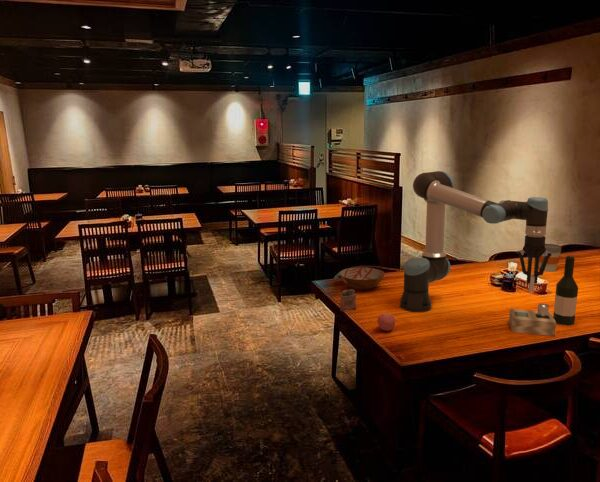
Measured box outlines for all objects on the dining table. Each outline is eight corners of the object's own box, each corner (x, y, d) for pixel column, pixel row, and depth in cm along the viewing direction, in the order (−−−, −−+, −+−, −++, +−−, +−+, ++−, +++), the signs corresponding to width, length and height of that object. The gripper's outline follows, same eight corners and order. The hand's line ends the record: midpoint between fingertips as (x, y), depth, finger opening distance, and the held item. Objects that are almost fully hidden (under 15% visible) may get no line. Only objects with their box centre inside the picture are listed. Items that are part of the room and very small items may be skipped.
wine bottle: (555, 317, 210) (561, 252, 204) (576, 321, 205) (583, 255, 199) (550, 322, 204) (557, 256, 198) (572, 327, 199) (579, 259, 193)
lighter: (341, 311, 223) (341, 291, 220) (339, 309, 226) (338, 289, 224) (357, 309, 225) (357, 290, 222) (354, 307, 228) (354, 288, 226)
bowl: (393, 290, 253) (393, 276, 251) (352, 296, 244) (352, 282, 242) (369, 278, 276) (370, 265, 274) (331, 283, 267) (331, 270, 265)
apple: (398, 329, 200) (398, 312, 199) (389, 334, 195) (389, 317, 193) (383, 325, 205) (383, 308, 204) (374, 330, 200) (374, 313, 198)
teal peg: (516, 328, 198) (517, 315, 197) (514, 324, 202) (516, 311, 201) (526, 328, 197) (527, 316, 196) (525, 325, 201) (526, 312, 200)
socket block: (512, 332, 195) (513, 318, 194) (508, 321, 206) (509, 308, 205) (554, 336, 190) (556, 322, 189) (548, 325, 202) (550, 312, 200)
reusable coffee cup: (531, 268, 288) (533, 244, 285) (547, 266, 292) (549, 242, 289) (547, 273, 277) (549, 249, 273) (564, 271, 280) (566, 247, 277)
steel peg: (537, 319, 195) (539, 306, 194) (536, 315, 199) (537, 302, 197) (548, 320, 194) (549, 307, 192) (546, 316, 197) (547, 303, 196)
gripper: (518, 236, 189) (515, 292, 193) (554, 237, 185) (550, 294, 189) (516, 233, 196) (513, 286, 200) (551, 234, 192) (546, 289, 196)
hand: (531, 290), depth 195 cm, fingers closed
